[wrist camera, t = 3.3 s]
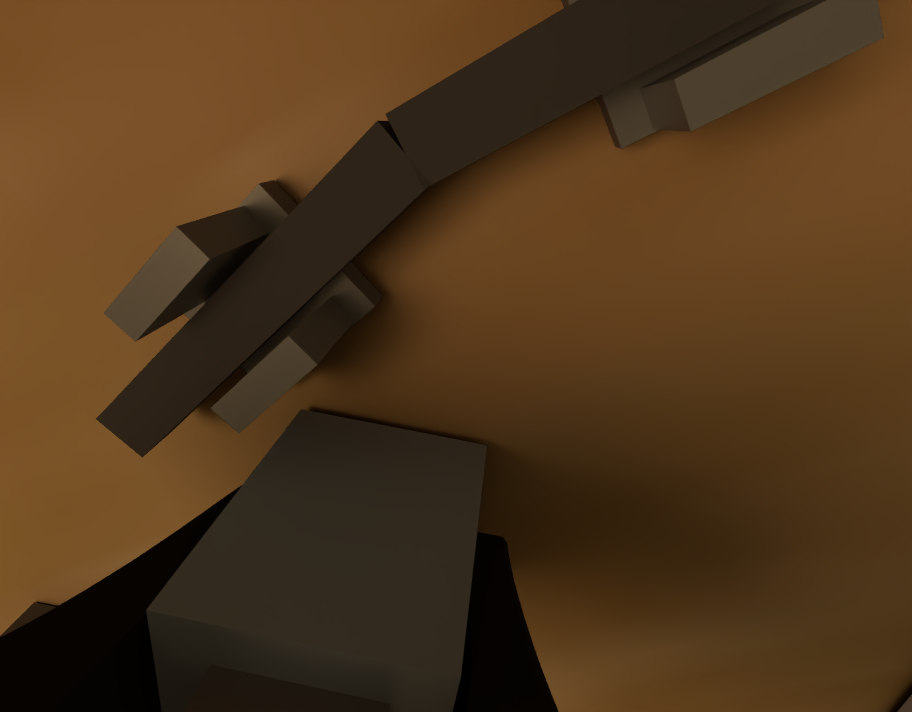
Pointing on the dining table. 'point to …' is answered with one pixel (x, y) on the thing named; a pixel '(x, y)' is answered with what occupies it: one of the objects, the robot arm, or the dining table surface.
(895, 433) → the dining table surface
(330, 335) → the clip
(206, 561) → the block
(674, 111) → the clip
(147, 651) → the robot arm
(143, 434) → the cable
